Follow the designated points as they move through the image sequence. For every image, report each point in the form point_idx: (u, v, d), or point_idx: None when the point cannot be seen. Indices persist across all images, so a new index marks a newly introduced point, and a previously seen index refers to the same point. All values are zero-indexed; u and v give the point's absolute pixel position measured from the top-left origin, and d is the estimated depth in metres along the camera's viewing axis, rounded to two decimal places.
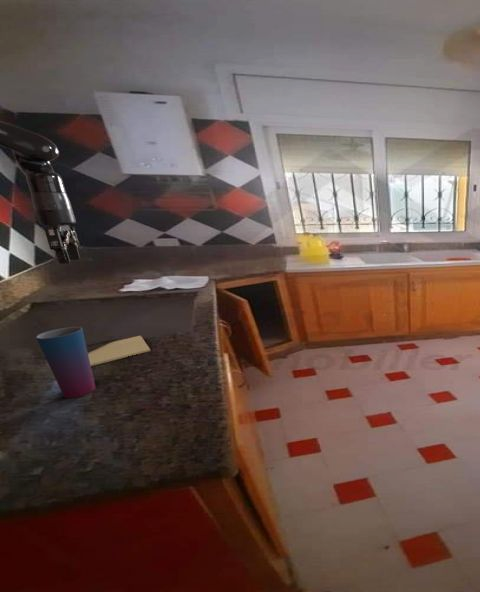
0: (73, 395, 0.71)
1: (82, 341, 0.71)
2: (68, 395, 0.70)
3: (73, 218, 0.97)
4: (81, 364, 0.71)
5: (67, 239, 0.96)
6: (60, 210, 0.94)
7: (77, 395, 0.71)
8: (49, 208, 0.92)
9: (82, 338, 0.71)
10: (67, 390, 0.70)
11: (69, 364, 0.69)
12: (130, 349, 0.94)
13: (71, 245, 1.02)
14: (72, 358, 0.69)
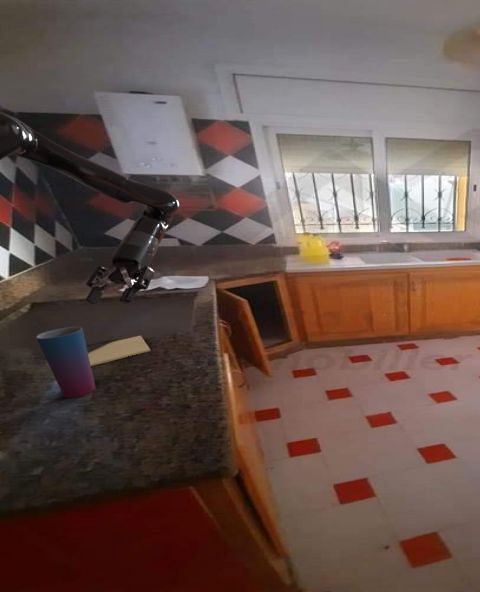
0: (73, 395, 0.71)
1: (82, 341, 0.71)
2: (68, 395, 0.70)
3: None
4: (81, 364, 0.71)
5: None
6: (152, 257, 0.88)
7: (77, 395, 0.71)
8: (150, 251, 0.87)
9: (82, 338, 0.71)
10: (67, 390, 0.70)
11: (69, 364, 0.69)
12: (130, 349, 0.94)
13: (101, 287, 0.82)
14: (72, 358, 0.69)
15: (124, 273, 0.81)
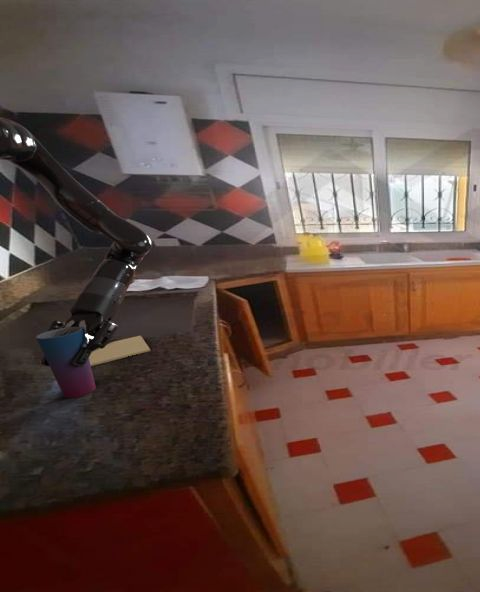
0: (73, 395, 0.71)
1: None
2: (68, 395, 0.70)
3: None
4: None
5: None
6: (119, 305, 0.79)
7: (77, 395, 0.71)
8: (116, 299, 0.78)
9: (82, 337, 0.71)
10: (67, 390, 0.70)
11: (69, 364, 0.69)
12: (130, 349, 0.94)
13: None
14: (72, 358, 0.69)
15: None
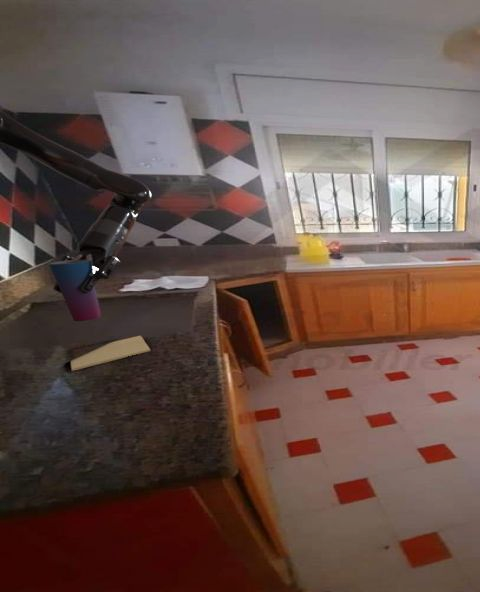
0: (81, 318, 0.81)
1: None
2: (77, 318, 0.80)
3: None
4: None
5: None
6: (121, 245, 0.89)
7: (85, 319, 0.81)
8: (118, 239, 0.87)
9: (89, 268, 0.81)
10: (76, 313, 0.80)
11: (78, 289, 0.79)
12: (130, 349, 0.94)
13: None
14: None
15: None
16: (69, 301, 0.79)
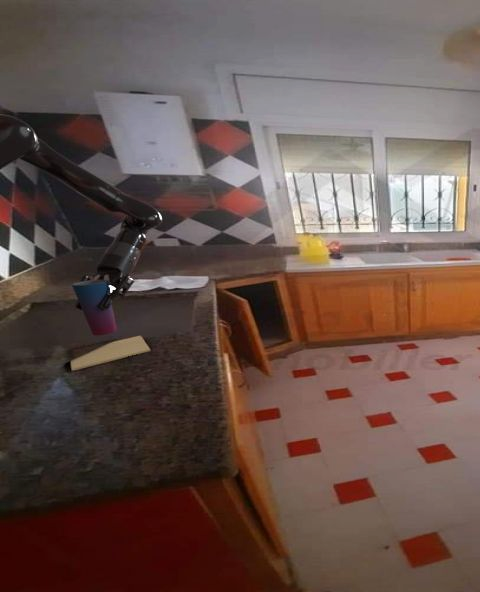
0: (100, 333, 0.90)
1: None
2: (96, 332, 0.89)
3: None
4: None
5: None
6: (134, 265, 0.98)
7: (103, 333, 0.90)
8: (132, 260, 0.96)
9: None
10: (95, 328, 0.89)
11: (97, 307, 0.88)
12: (130, 349, 0.94)
13: None
14: None
15: None
16: (89, 317, 0.88)
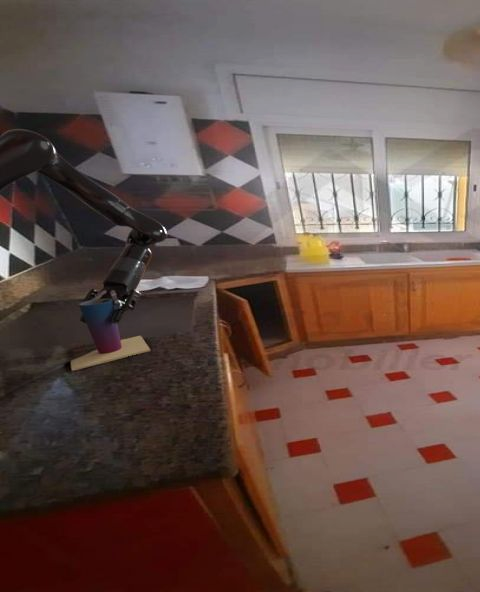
0: (106, 351, 0.91)
1: (112, 309, 0.91)
2: (102, 351, 0.91)
3: None
4: (112, 327, 0.91)
5: None
6: None
7: (108, 351, 0.92)
8: (138, 275, 0.98)
9: (113, 306, 0.91)
10: (101, 347, 0.90)
11: (103, 326, 0.89)
12: (130, 349, 0.94)
13: None
14: (106, 322, 0.90)
15: (113, 296, 0.92)
16: (95, 336, 0.89)
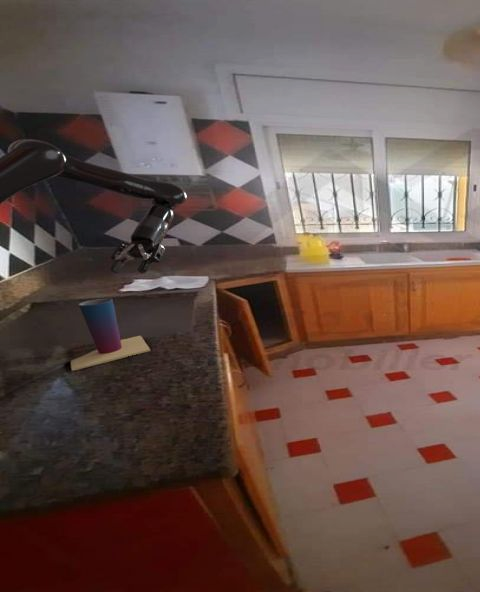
0: (106, 351, 0.91)
1: (112, 309, 0.91)
2: (102, 351, 0.91)
3: None
4: (112, 327, 0.91)
5: None
6: (163, 237, 1.08)
7: (108, 351, 0.92)
8: (161, 232, 1.07)
9: (113, 306, 0.92)
10: (101, 347, 0.90)
11: (103, 326, 0.89)
12: (130, 349, 0.94)
13: (122, 260, 1.01)
14: (106, 322, 0.90)
15: (140, 248, 1.01)
16: (95, 336, 0.89)
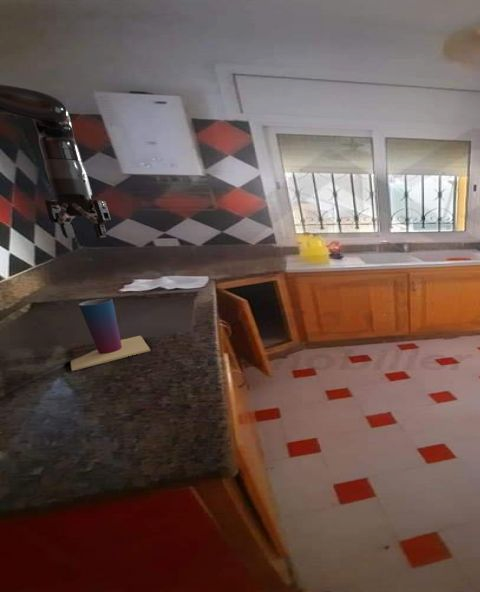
0: (106, 351, 0.91)
1: (112, 309, 0.91)
2: (102, 351, 0.91)
3: None
4: (112, 327, 0.91)
5: None
6: (88, 181, 0.89)
7: (108, 351, 0.92)
8: (84, 178, 0.87)
9: (113, 306, 0.92)
10: (101, 347, 0.90)
11: (103, 326, 0.89)
12: (130, 349, 0.94)
13: (66, 221, 0.90)
14: (106, 322, 0.90)
15: (79, 210, 0.87)
16: (95, 336, 0.89)
